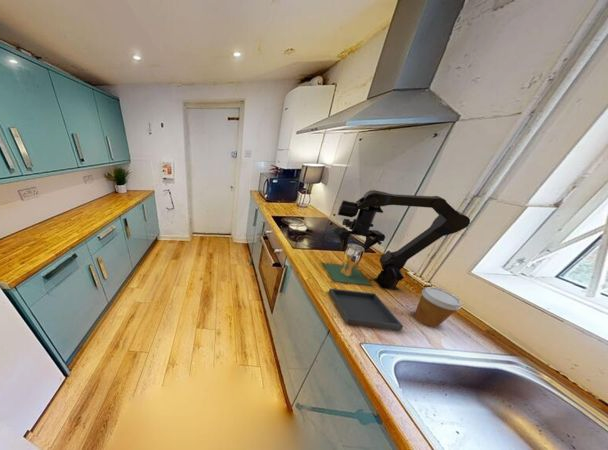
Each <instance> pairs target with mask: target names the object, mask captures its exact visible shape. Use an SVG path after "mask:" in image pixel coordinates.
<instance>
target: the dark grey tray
mask: <svg viewBox="0 0 608 450" xmlns="http://www.w3.org/2000/svg"><path fill="white" fill-rule="evenodd" d="M327 292H328V295H329V296H330V298H331V300H332V302H333V304H334V306H335V307H336V309H337V312H339V314H340V316H341V317H342V320H343V321H344V323H345V324H346V325H349V326H358V327H366V328H374V329H381V330H388V331H395V332H396V331H397V332H401V331H402V329H403V327H404V325H403V324H402V323H401V322H400V321H399V319H397V318H396V316H395V315H394V314H393V313H392V311H391V310H390V309H389V308H388V307H387V305H385V303H384V302H383V301H382V300H381V299H380V297H379V296H378V295H377V294H376V293H375V292H366V291H365V292H364V291H363V292H362V291H357V290H356V291H355V290H347V289H340V288H339V289H338V288H329V290H328V291H327Z"/></svg>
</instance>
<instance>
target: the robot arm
mask: <svg viewBox="0 0 608 450" xmlns="http://www.w3.org/2000/svg"><path fill="white" fill-rule="evenodd" d="M387 206H402V207H414V208H415V207H417V208H428V209H429V208H430V209H432V210H434V212H435V213H436V214H437V216H436V217H435V218H434V220H433V221H432V222H431V225H430V226H429V227H428V228H427V229H426V230H424V231H423V232H421V233H420V234H418V235H417V236H416V237H414V238H413V239H411V240H410V241H409V242H407V243H406V244H405V245H403V246H402V247H400V248H399V249H398V250H395V251H391V250H387V251H386V252H385V253H383V254H381V255H380V258H379V263H380V266H381V269H382V270H381V271H379V272H380V273H378V275H377V277H374V278H373V280H374V281H375V282H376V283H377V284H378V285H379V286H380V287H381V289H384V290H392V291H393V290H395V291H399V288H398V287H397V286H398V284H399V282H400V281H402V280H403V279H404V278H405V277H404V275H403V273H402V269H403V268H404V267H405V266H406V264H407V262H408V261H409V260H410V259H411V258H413V257H414V256H416V255H417V254H419V253H420V252H421V251H424V250H425V249H426V248H428V247H429V246H430V245H433V244H434V243H435V242H436V241H439V240H440V239H441V238H443V237H445V236H448V235H449V236H450V235H452V234H456V233H458V232H461V231H462V230H465V229H466V228H468V227H469V226H470V225H471V219H470V217H469V216H467V215H465V214H464V213H462V212H460V211H459V210H456V209H455V208H454V207H453V206H451V205H450V204H449V203H448V202H447V200H446V199H445V198H443V197H441V196H439V195H416V194H415V195H414V194H413V195H412V194H397V193H396V194H395V193H394V194H393V193H389V192H386V191H380V190H375V189H371V190H368V191H367V192H365V193H364V195H363V196H362V197H361V198H359V199H357V200H356V201H355V202H354V201H348V200H342V201H341V203H340V205H339V208H338V212H337V216H342V217H347V218H343V220H342V223H341V225H342V226H345V227H340V226H339V227H338V226H337V227H335V228H334V230H333V234H334V235H336V236H337V237H338V238H339V240H340V241H339V242H340V248H341V250H342V251H343V250H344V249H346V248H345V247H347V245H348V242H349V238H350V236H357V237H365V241H364V243H363V246H362V247H363V248H364V249H365V251H367V250H368V249H370V248H371V247H373V246H375V245H376V244H378V243H381V242H384V241H385V240H386V234H384V233H383V232H381V231H380V230H375V229H371V228H373V227H374V224H373V222H374V219H375V217H376V214H377V213H380V214H384V210H383V209H382V208H381V207H387ZM354 217H356V218H354ZM350 218H354V219H353V220H352V221H351V220H350ZM347 228H348V229H349V230H348V229H347Z"/></svg>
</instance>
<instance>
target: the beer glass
mask: <svg viewBox="0 0 608 450" xmlns="http://www.w3.org/2000/svg"><path fill="white" fill-rule="evenodd" d="M365 252H366V250H365V249H364V248H363V246H362V245H360V244H356V243H347V245H346V248H345V250H344V252H343V255H342V264H341V265H342V266H341V268H340V269H339V273H340V274H341V275H343V276H345V277H353V275H354V270H355V268H358V266H359V264H360V263H361V261H362V260H363V257H364V254H365Z"/></svg>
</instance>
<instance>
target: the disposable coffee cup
mask: <svg viewBox="0 0 608 450" xmlns="http://www.w3.org/2000/svg"><path fill="white" fill-rule="evenodd" d="M462 308H463V307H462V301H461V300H460V299H459V298H458V297H457V296H456V295H455V294H453V293H451V292H449V291H447V290H444V289H442V288H438V287H434V286H427V287H425V288H423V289H422V290H421V295H420V299H419V302H418V304H417V306H416V308H415V311H414V315H413V316H414V317H415V319H416V320H417V321H418V322H420V323H421V324H423V325H425V326H427V327H430V328H438V327H439V326H440V325H441V324H443V323H444V322H445V321H446V320H447V319H448V318H450V316H452V315H453V314H454V313H455V312H456V311H458V310H461V309H462Z"/></svg>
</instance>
